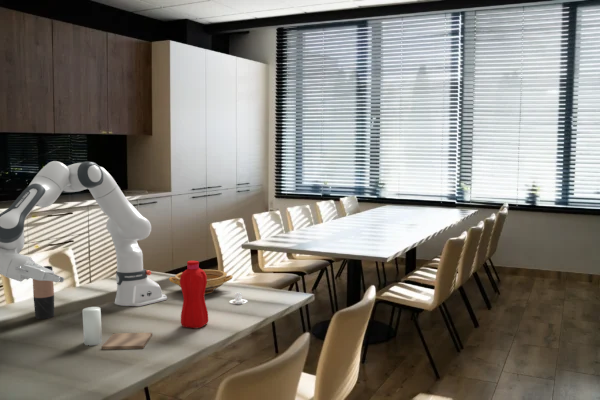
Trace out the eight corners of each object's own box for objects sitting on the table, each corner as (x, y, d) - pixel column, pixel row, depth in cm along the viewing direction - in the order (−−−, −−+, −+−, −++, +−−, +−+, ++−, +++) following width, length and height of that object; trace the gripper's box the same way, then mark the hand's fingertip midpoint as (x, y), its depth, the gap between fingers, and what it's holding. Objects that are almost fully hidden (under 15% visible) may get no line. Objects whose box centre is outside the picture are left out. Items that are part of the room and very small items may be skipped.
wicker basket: (166, 299, 265) (165, 281, 265) (172, 286, 290) (172, 270, 289) (232, 296, 268) (232, 279, 267) (233, 284, 292) (233, 268, 291)
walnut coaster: (101, 349, 200) (101, 346, 200) (113, 336, 214) (113, 333, 214) (143, 348, 201) (143, 345, 201) (152, 335, 215) (152, 332, 215)
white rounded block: (99, 338, 212) (97, 305, 211) (104, 343, 207) (102, 309, 206) (81, 342, 208) (80, 308, 207) (86, 346, 203) (85, 312, 202)
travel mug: (47, 319, 236) (44, 270, 234) (30, 318, 238) (27, 269, 236) (59, 314, 243) (56, 266, 242) (42, 313, 245) (39, 265, 243)
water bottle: (213, 321, 231) (211, 258, 228) (199, 329, 220) (197, 263, 218) (192, 319, 234) (190, 257, 231) (177, 327, 223) (175, 262, 221)
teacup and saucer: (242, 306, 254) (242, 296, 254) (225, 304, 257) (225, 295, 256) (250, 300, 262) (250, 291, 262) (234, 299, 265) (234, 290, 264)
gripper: (17, 258, 195) (59, 271, 197) (31, 260, 215) (69, 272, 217) (10, 276, 194) (52, 289, 196) (24, 276, 214) (62, 288, 216)
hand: (61, 280), depth 207 cm, fingers open, 8 cm apart
